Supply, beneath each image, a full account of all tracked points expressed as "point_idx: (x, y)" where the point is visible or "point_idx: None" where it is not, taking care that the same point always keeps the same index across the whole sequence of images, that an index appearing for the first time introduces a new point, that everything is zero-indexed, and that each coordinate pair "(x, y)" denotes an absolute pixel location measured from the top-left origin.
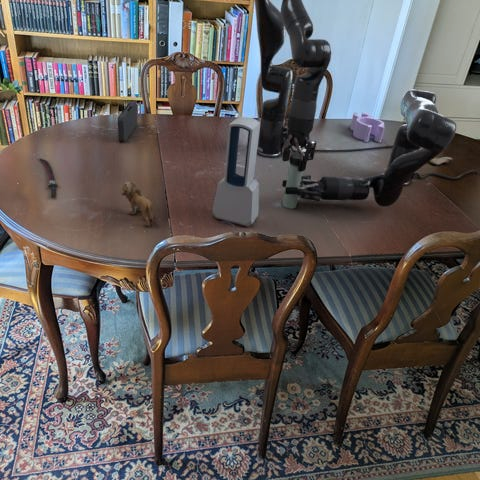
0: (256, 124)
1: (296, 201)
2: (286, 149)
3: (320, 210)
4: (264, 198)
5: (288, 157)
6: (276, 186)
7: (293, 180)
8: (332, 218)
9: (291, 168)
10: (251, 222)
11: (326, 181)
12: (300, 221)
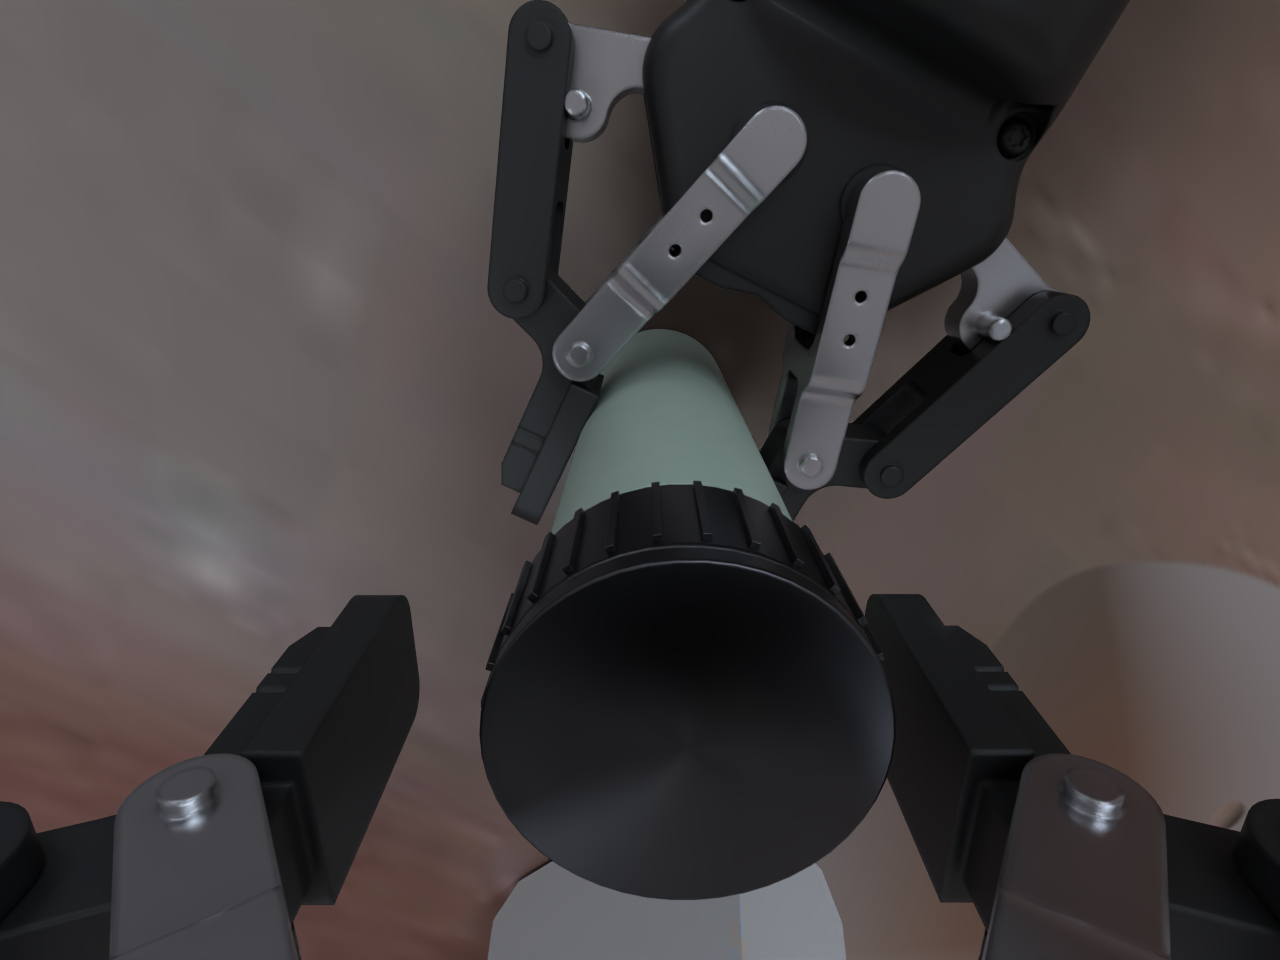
0: None
1: (724, 379)
2: (297, 884)
3: None
4: (455, 526)
5: (386, 655)
6: (249, 258)
7: None
8: (1083, 142)
9: None
10: (829, 894)
11: (1034, 52)
12: (936, 483)
